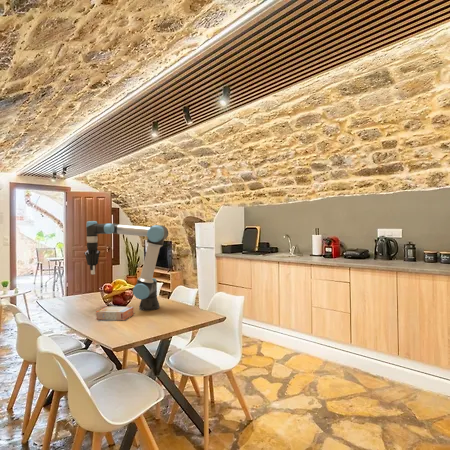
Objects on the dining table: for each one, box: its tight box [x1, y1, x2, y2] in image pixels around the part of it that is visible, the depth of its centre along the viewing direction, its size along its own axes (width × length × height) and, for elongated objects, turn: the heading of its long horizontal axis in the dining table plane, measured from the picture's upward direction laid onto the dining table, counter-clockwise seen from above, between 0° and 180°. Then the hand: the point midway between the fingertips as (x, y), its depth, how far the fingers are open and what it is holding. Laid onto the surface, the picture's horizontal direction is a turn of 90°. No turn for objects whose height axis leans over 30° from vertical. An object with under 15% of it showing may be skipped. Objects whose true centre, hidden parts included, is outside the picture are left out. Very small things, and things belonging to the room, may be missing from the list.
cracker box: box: [95, 305, 135, 320], centre depth 235 cm, size 14×6×21 cm
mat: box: [97, 316, 132, 322], centre depth 236 cm, size 19×20×1 cm
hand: (92, 274), depth 249 cm, fingers closed
